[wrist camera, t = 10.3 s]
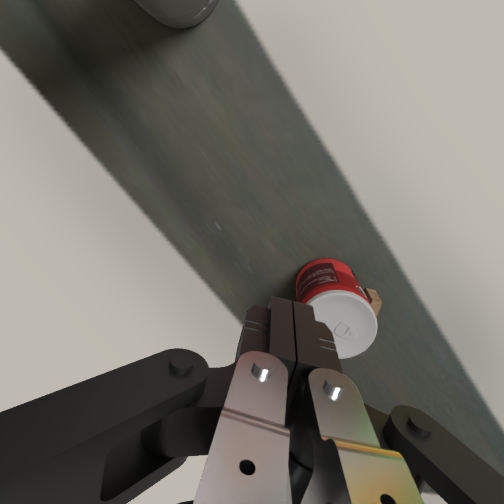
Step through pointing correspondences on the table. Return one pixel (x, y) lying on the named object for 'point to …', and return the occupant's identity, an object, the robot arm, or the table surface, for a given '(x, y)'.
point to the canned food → (338, 304)
